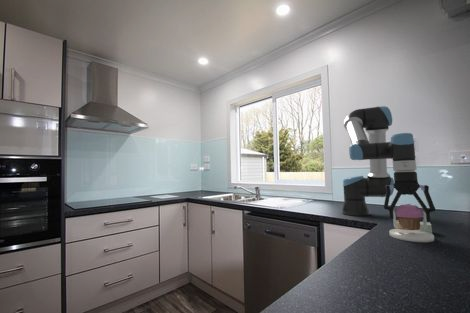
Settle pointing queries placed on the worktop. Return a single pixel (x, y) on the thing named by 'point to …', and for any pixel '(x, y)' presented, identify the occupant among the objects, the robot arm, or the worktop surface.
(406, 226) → the cupcake
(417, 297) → the worktop surface
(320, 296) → the worktop surface
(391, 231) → the plate
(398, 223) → the beech brick
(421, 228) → the sage block
